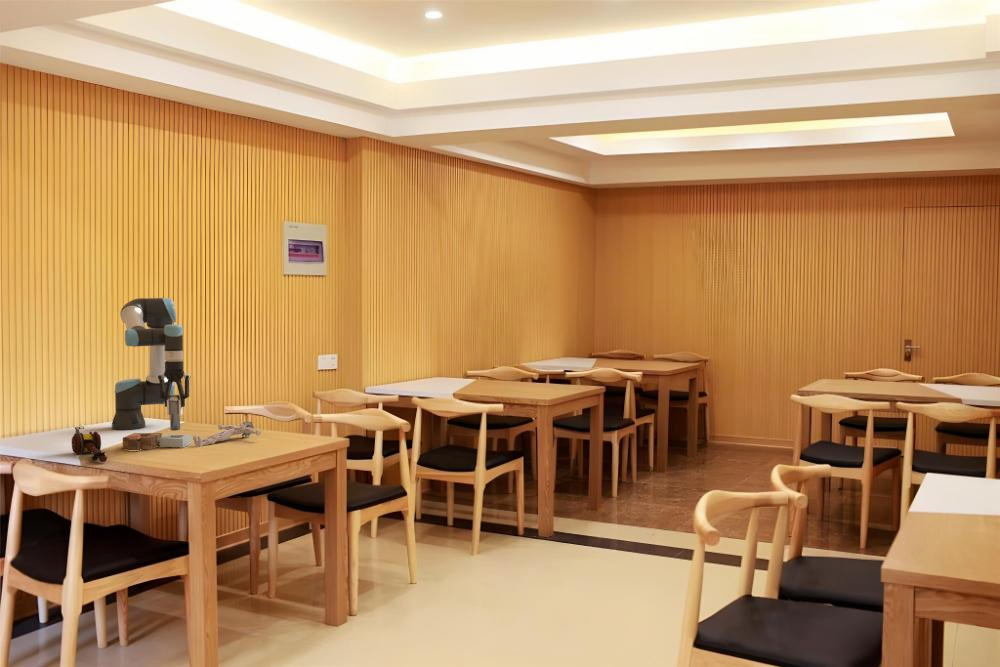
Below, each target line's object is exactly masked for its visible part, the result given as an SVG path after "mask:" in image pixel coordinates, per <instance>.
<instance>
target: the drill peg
mask: <svg viewBox="0 0 1000 667" xmlns="http://www.w3.org/2000/svg"><path fill="white" fill-rule="evenodd" d="M179 400H180V395H179V394H174V395H170V397H169V401H170V415H169V425H170V426H169V428H170V431H174V432H175V431H180V430H181V415H179Z"/></svg>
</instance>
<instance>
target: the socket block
mask: <svg viewBox="0 0 1000 667" xmlns="http://www.w3.org/2000/svg"><path fill="white" fill-rule="evenodd" d="M132 434H141V438H140V439H137V442H133V439H129V436H130V435H132ZM162 437H163V433H162V432H134V433H131V434H129V435H125V436H123V437H122V450H123V449H128V450H140V449H152V448H154V447H156V446H158V447H160V446H159V445H160V441H159V439H160V438H162ZM156 448H157V447H156ZM154 449H155V448H154ZM152 450H153V449H152ZM140 451H141V450H140Z"/></svg>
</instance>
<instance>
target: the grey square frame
mask: <svg viewBox="0 0 1000 667" xmlns="http://www.w3.org/2000/svg"><path fill="white" fill-rule="evenodd" d="M159 441H160V446H159V448H160V447H180V448H179V449H184V448H186V447H188V446H190V445H191V444H192V434H166V435H164V436H162V438H160V439H159ZM189 444H190V445H189ZM187 445H188V446H187ZM185 446H186V447H185ZM183 447H184V448H183Z"/></svg>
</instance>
